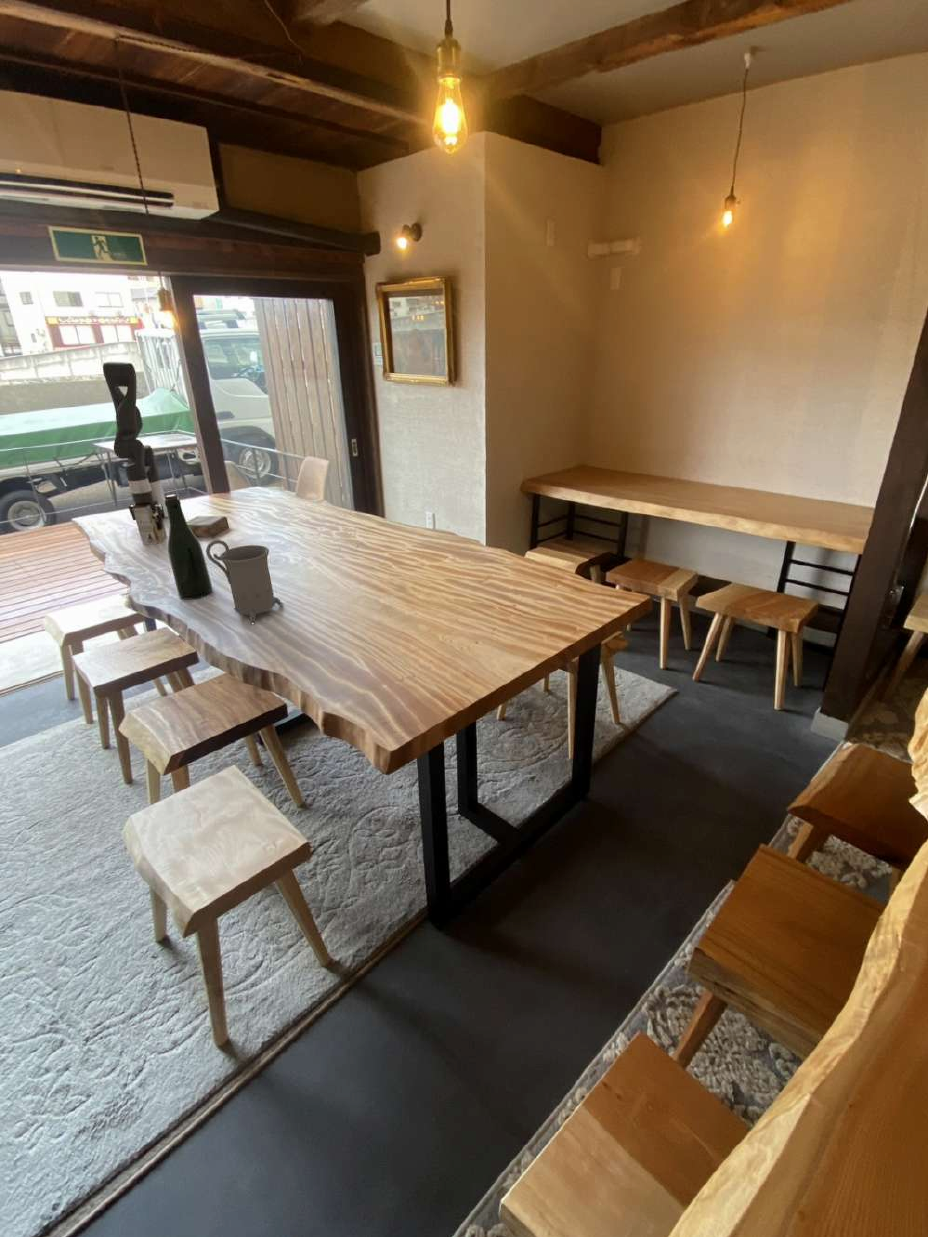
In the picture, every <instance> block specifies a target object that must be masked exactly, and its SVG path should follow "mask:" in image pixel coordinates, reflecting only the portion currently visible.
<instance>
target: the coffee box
mask: <svg viewBox="0 0 928 1237" xmlns="http://www.w3.org/2000/svg"><path fill="white" fill-rule="evenodd" d="M154 504H155V505H158V502H157V501H154ZM134 505H135V504H134ZM132 509H133V513H134V516H135V519H136V520H135V522H136V526H137V528H138V532H139V534H140V539H141V542H142V545H157V544H159V543H161V542H162V541H164V540H165V539H166V538H168V534H167V531H166V527H165V524H164V521H163V520H164V519H163V520H161V522H162V526H163V528H162V530H158V529H157V526H156V521H155V519H154V517H153V514H156V511H157V510H156V508H155V510H152V508H151V505H150V504H137V505H135V506H133V507H132ZM157 513H158V512H157ZM156 517H157V516H156Z"/></svg>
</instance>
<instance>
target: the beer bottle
mask: <svg viewBox="0 0 928 1237" xmlns="http://www.w3.org/2000/svg"><path fill="white" fill-rule="evenodd" d="M164 497H165V506H166V508H167V512H168V517H167V518H168V523H169V531H168V539H167V553H168V558H169V562H170V566H171V571H172V575H173V579H174V583H175V587H176V590H177V593H178V596H179V597H180V598H181V597H182V599H184V598H195V599H198V598H197V597H200V598H202V597H201V596H203V597H205V596H204V595H206V596H207V594H208V595H209V594H211V593H212V591H213V585H212V584H213V583H212V581H211V578H210V576H211V575H210V573H209V570H208V566H207V562H206V559H205V554H204V552H203V549H202V545H201V543H200V541H199V538H196V536H195V535H194V533H193V532H192V531H191V529H190V528H189V526H188V524H187V522H188V521H187V519H186V518H185V515H184V512H183V508H182V503H181V502H182V501H181V500H180V498H178V496H177V494H168V495H164Z"/></svg>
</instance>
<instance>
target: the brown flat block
mask: <svg viewBox="0 0 928 1237" xmlns="http://www.w3.org/2000/svg"><path fill="white" fill-rule="evenodd" d="M186 522H187V524H188V526H189V528H190V529H191V531H192V532H193V533H194V535H195V536H196V538H197V539H213V538H215V537H217V536H219V535H220V534H222V533H223V532H225V531H226V530H228V529H230V526H229V525H230V524H229V521H228V517H227V516H225V515H222V516H221V515H220V516H219V515H217V516H216V515H215V516H213V515H212V516H211V515H210V516H208V515H207V516H206V515H205V516H204V515H203V516H202V515H198V516H195V517H193V518H191V519H190V520H187V521H186Z"/></svg>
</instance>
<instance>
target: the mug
mask: <svg viewBox="0 0 928 1237" xmlns="http://www.w3.org/2000/svg"><path fill="white" fill-rule="evenodd" d="M216 544H220V545H222V546H223V547H224V549H225V550H224V551H223V552H222V553H221V554H220V555H219V556H218V555H217V553H213V556H212V554H211V548H212V547H213V546H215V545H216ZM205 553H206V556H207V558H208V559H209V561H211V562H212V563H214V565H216V566H217V567H219V569H221V571H222V572H223V574H224V575H225V577H226V579H227V582H228V584H229V586H230V590H231V595H232V598H233V603H234V607H233V609H234V610H235V611H236V612H237V613H239V614H241V615H246V616H247V615H248V616H249V619H250V622H251V623H254V622H256V616H257V614H262V613H265V612H268V611H269V610H271V609H273V608H274V607H275V605H276V604H277V605H278V606H280V605H281V604H283V605H284V603H283V602H282V601H280V599H279V598H278V597H276V596H275V595H274V588H273V585H272V580H271V575H270V570H269V564H268V562H269V560H268V556H269V553H270V549H269V548H268V547H267V546H263V545H258V544H256V545H255V544H254V545H253V544H250V545H249V544H248V545H241V546H237V547H233V548H230V547H229V545H228V543H226V542H225V541H224V540H220V539H216V540H213V541H211V542H210V543H208V544H207V546H206V550H205ZM219 561H221V562H222V563H223V564H224V566H223V565H222V564H221V562H219ZM281 606H282V605H281ZM254 624H255V623H254Z"/></svg>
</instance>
